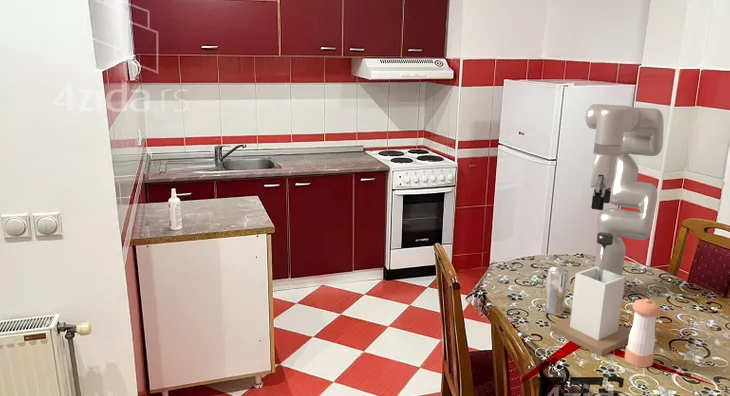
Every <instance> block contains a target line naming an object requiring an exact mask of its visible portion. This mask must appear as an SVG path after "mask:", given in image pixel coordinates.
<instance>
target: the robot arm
mask: <svg viewBox="0 0 730 396" xmlns="http://www.w3.org/2000/svg"><path fill="white" fill-rule="evenodd" d="M664 123H665V122H664V116H663V113H662V111H660V109H657V108H653V107H652V108H651V107H634V106H630V105H617V104H603V103H602V104H600V103H599V104H598V103H597V104H595V103H594V104H591V105H590V106H589V107H588V108H587V111H586V114H585V124H586V126H587V128H588V129H593V130H595V137H594V143H593V153H592V154H593V155H595V158H594V161H593V162H594V163H593V168H592V174H591V181H590V188H592V189H593V188H594V189H593V193H592V198H591V199H592V200H591V207H590V208H591V209H592V210H598V211H599V213H598V214H597V215H598V216H597V225H596V226H597V234H598V233H600V232H606V233H610V234H613V235H614V236H613V244H612V245H607V247H606V255H605V263H604V270H607V271H609V272H612V273H615V274H618V275H620V276H623V274H624V273H623V271H624V264H625V257H626V252H627V251H626V250H627V249H626V245H625V242H624V241H623V239H622V238H626V239H627V238H628V239H633V240H638V241H645V240H647V239H649V238H650V236H651V234H652V233H651V232H652V228H653V223H654V218H655V213H656V209H657V201H658V188H657V187H656V185H655V184H653V183H649V182H643V181H638V180H637V179H638V176H639V172H640V171H639V167H638V165H637V162H636V161H635V160H634V159H633V157H631V155H635V156H646V157H655V156H658V155H660V154H661V152H662V150H663V145H664V130H665V129H664ZM605 204H610V205H614V206H617V207H621V208H615V207H611V208H610V207H605V208H604V206H605ZM622 208H630V209H636V210H638V211H633V210H628V209H622ZM601 246H602V244H599V243H597V242H596V251H595V258H594V259H595V260H594V266H593V267H598V268H599V262H600V254H601ZM625 283H627V278H626V277H625ZM625 293H626V292H625V290H624V291H623V297H624V296H625Z"/></svg>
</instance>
